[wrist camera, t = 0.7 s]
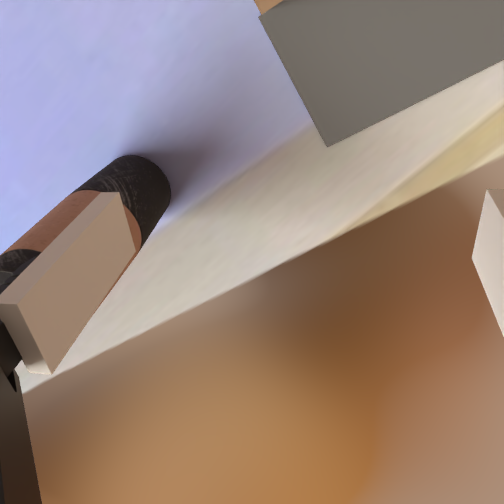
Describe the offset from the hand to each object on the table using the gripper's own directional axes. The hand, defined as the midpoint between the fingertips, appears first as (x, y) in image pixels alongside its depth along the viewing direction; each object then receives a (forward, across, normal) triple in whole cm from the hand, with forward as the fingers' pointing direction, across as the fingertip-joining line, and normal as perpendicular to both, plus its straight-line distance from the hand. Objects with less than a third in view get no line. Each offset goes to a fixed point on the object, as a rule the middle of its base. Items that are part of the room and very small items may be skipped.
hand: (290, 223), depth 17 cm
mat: (+25, +5, +2) cm, 26 cm away
